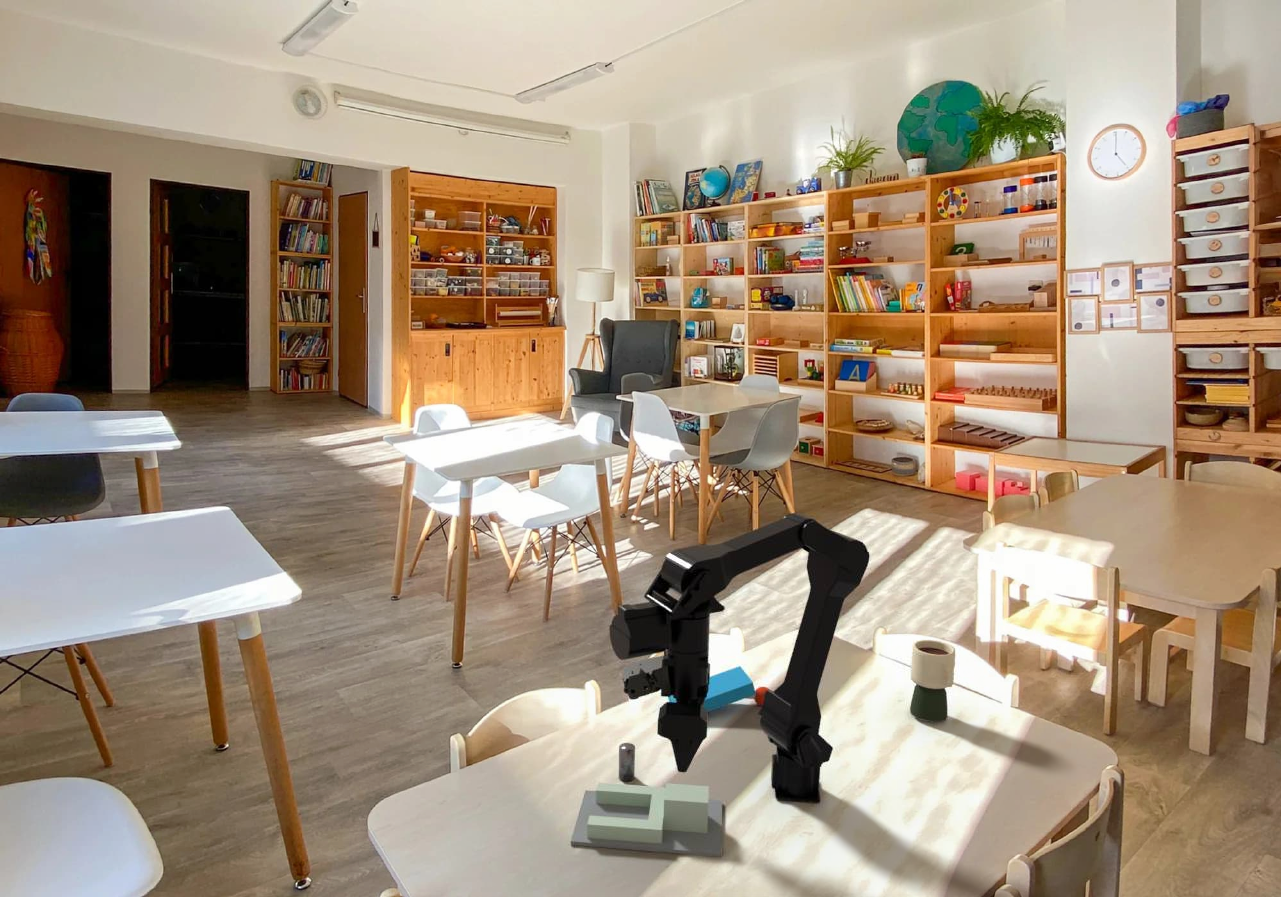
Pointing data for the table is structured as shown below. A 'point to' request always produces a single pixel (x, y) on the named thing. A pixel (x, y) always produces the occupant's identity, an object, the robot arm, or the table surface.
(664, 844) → the mat
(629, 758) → the grey metal rod
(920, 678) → the cream and green cup
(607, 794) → the c link
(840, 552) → the robot arm
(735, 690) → the lever
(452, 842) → the table surface
